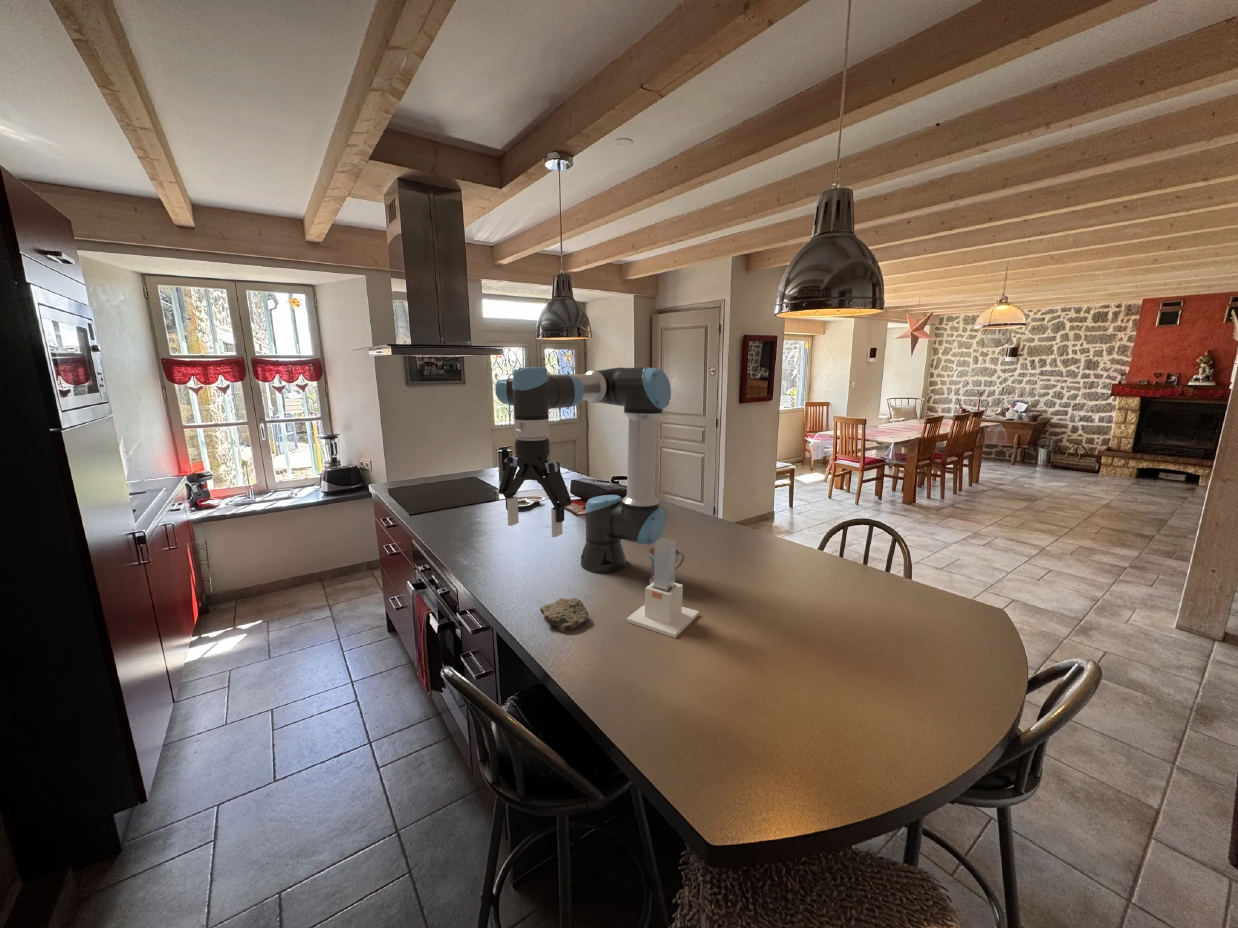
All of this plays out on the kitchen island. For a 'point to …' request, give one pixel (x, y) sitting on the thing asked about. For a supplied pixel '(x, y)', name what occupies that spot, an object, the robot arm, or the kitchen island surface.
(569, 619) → the rock
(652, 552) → the mug
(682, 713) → the kitchen island surface
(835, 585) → the kitchen island surface
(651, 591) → the stand
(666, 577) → the column
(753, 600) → the kitchen island surface
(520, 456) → the robot arm
